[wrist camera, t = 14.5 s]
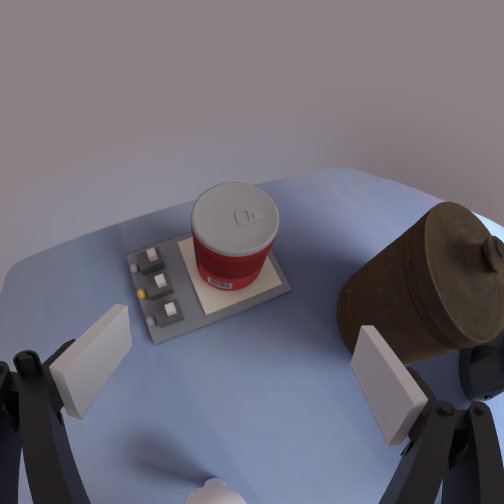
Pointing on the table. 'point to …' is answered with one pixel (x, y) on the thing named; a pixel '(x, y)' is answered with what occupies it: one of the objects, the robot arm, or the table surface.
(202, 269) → the canned food
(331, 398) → the table surface
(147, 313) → the breaker board
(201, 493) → the lightbulb
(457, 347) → the wooden container
